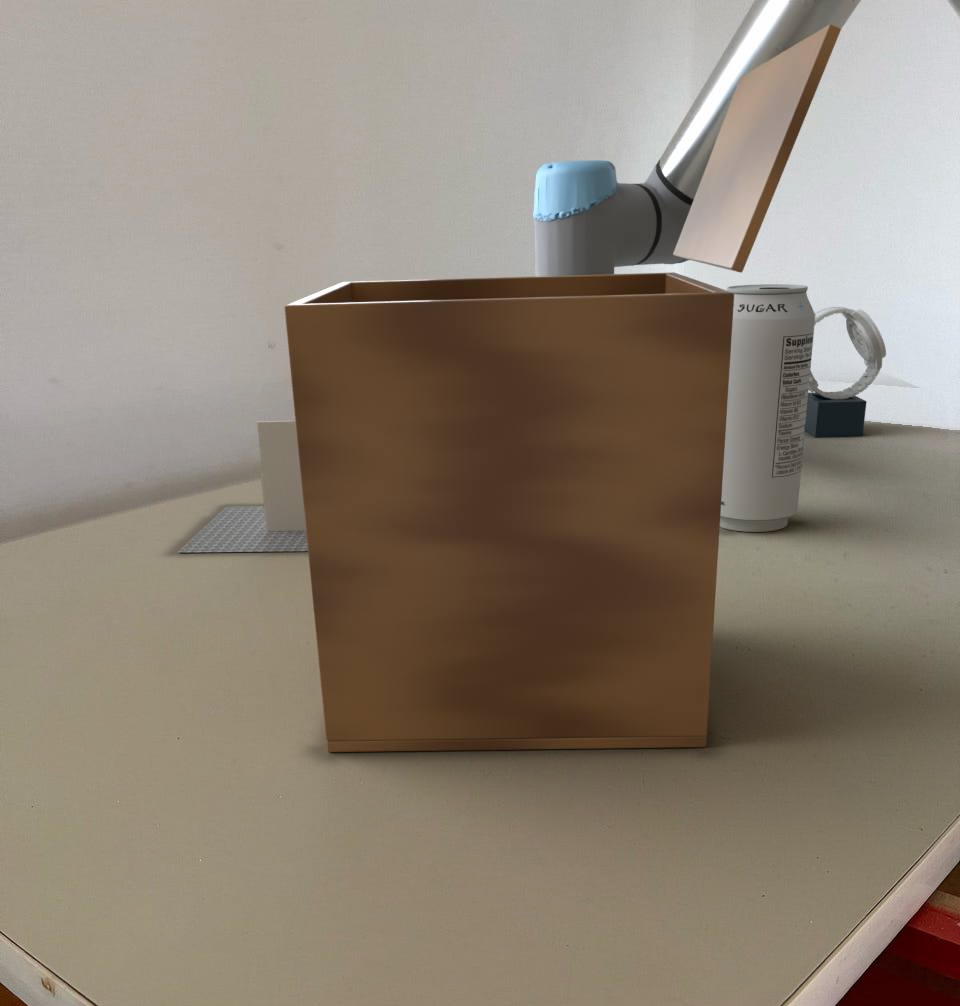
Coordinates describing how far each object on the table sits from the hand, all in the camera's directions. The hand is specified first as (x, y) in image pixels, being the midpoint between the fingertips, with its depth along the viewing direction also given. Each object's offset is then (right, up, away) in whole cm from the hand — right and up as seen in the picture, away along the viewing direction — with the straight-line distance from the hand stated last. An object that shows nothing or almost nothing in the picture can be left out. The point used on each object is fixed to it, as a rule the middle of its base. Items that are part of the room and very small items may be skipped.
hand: (711, 383), depth 72 cm
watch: (+17, +1, +24) cm, 30 cm away
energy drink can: (+2, -10, -3) cm, 11 cm away
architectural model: (-28, -10, -1) cm, 30 cm away
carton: (-15, -20, -26) cm, 36 cm away
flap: (-7, 0, -34) cm, 35 cm away
